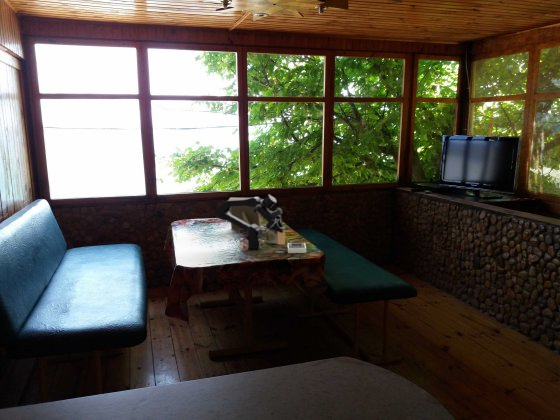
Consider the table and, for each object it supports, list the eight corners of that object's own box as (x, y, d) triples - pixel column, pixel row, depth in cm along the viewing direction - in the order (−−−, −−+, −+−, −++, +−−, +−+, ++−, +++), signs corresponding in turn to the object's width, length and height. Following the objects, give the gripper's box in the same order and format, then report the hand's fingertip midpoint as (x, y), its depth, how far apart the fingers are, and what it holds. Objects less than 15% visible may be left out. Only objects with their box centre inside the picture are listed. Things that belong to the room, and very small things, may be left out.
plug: (277, 244, 257) (277, 228, 255) (277, 242, 262) (277, 226, 260) (285, 244, 257) (285, 228, 255) (285, 242, 261) (285, 226, 260)
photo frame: (232, 228, 321) (231, 196, 316) (260, 229, 318) (260, 196, 314) (228, 233, 306) (227, 199, 301) (258, 234, 304) (257, 199, 299)
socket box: (288, 253, 254) (287, 247, 254) (287, 247, 266) (287, 242, 265) (306, 252, 254) (306, 247, 254) (304, 247, 266) (304, 242, 266)
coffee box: (282, 242, 280) (282, 218, 277) (277, 244, 275) (277, 220, 272) (271, 240, 285) (270, 217, 282) (265, 242, 279) (265, 218, 277)
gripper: (270, 206, 247) (289, 225, 247) (277, 201, 265) (295, 219, 264) (258, 219, 250) (276, 238, 250) (266, 213, 268) (283, 231, 268)
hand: (283, 231), depth 258 cm, fingers closed on plug, 5 cm apart
